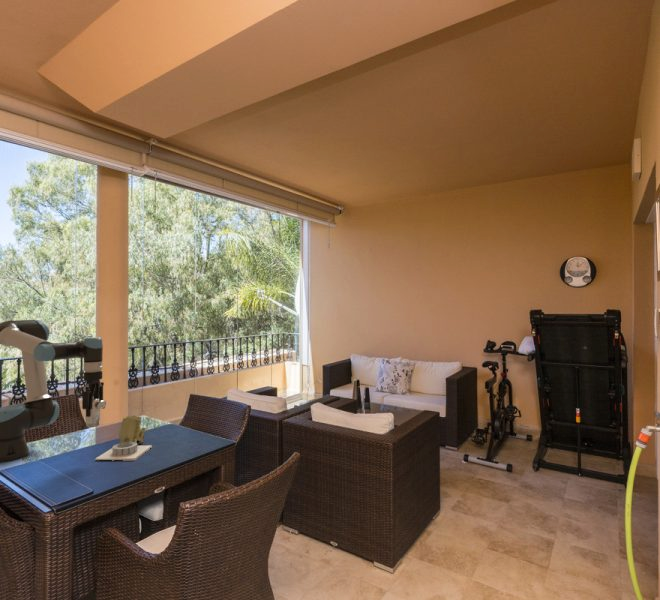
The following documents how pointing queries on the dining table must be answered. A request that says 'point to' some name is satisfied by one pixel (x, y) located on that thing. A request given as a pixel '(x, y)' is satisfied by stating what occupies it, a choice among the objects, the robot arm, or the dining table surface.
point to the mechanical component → (131, 430)
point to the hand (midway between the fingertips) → (92, 421)
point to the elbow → (96, 411)
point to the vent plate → (126, 457)
